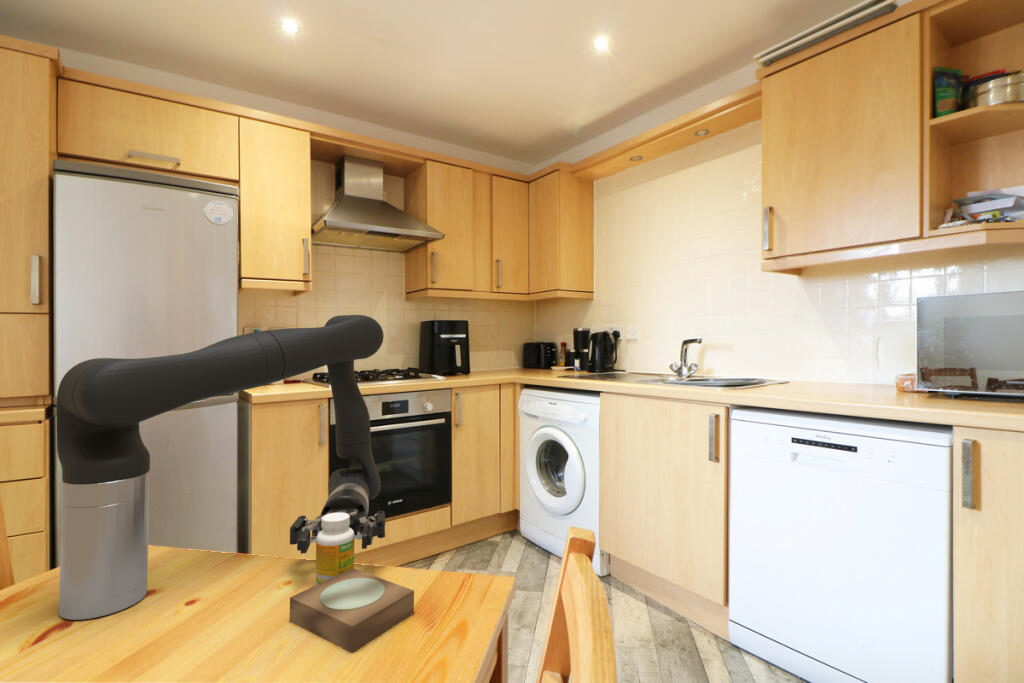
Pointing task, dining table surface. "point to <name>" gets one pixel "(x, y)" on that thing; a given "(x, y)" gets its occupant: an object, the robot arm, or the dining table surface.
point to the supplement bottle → (334, 547)
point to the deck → (351, 608)
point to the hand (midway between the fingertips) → (334, 544)
